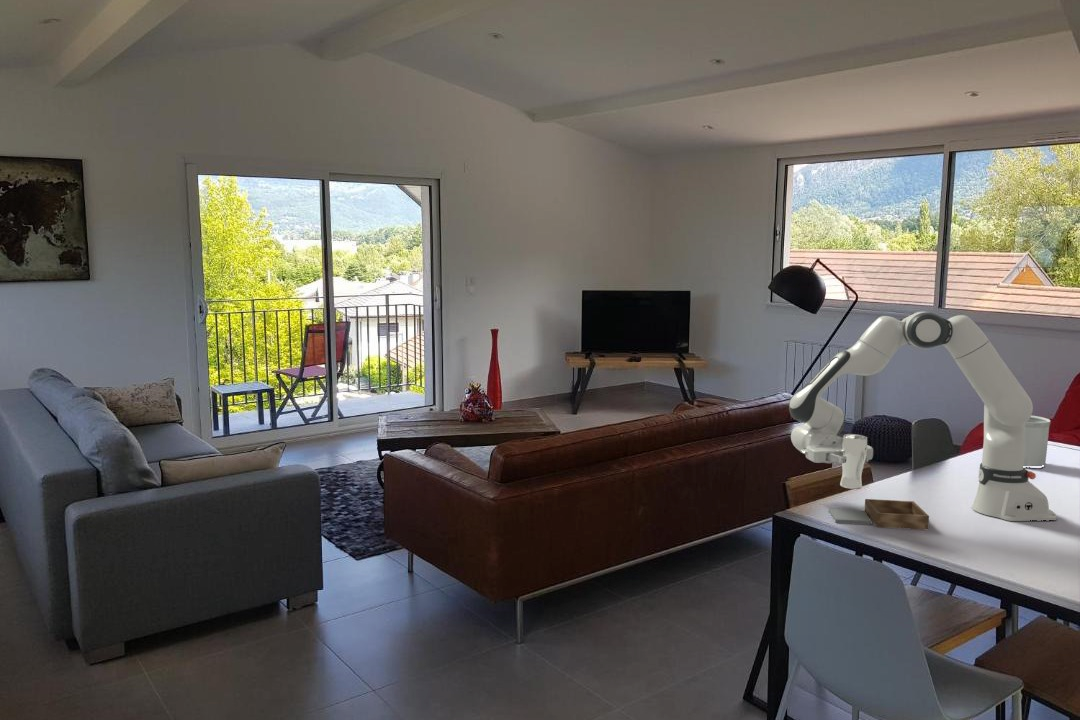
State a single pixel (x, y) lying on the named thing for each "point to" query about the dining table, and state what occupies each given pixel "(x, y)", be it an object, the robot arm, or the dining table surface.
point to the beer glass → (853, 460)
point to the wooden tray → (896, 514)
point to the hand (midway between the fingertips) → (855, 459)
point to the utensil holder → (1036, 441)
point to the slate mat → (849, 516)
